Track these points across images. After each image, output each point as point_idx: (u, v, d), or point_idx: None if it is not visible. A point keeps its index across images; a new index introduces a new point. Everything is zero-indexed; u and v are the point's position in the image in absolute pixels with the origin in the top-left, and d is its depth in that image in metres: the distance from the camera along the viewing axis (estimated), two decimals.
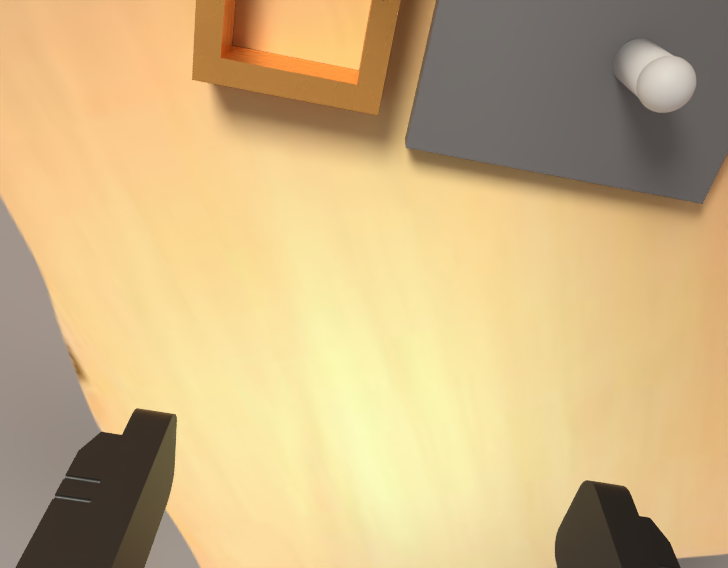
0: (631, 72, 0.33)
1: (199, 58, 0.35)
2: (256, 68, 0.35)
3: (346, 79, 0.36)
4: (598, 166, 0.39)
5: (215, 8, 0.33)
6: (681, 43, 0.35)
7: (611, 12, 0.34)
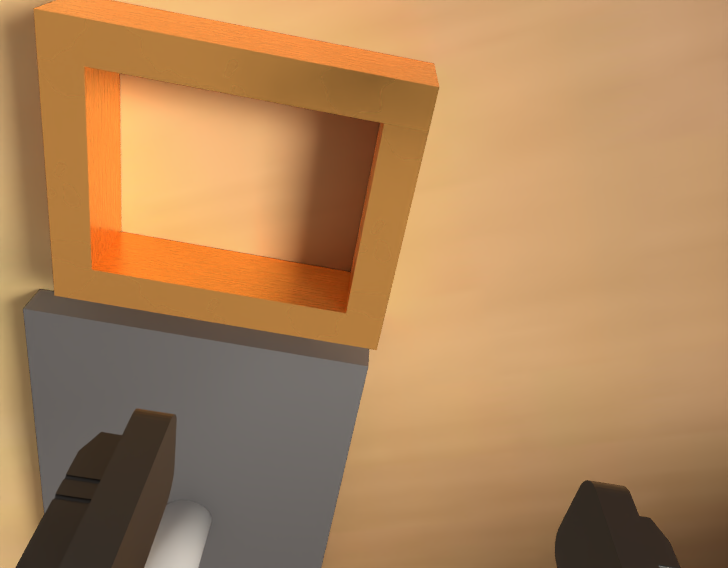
0: (169, 553, 0.30)
1: (74, 27, 0.20)
2: (80, 125, 0.21)
3: (97, 246, 0.24)
4: None
5: (163, 67, 0.20)
6: (211, 546, 0.34)
7: (233, 493, 0.32)
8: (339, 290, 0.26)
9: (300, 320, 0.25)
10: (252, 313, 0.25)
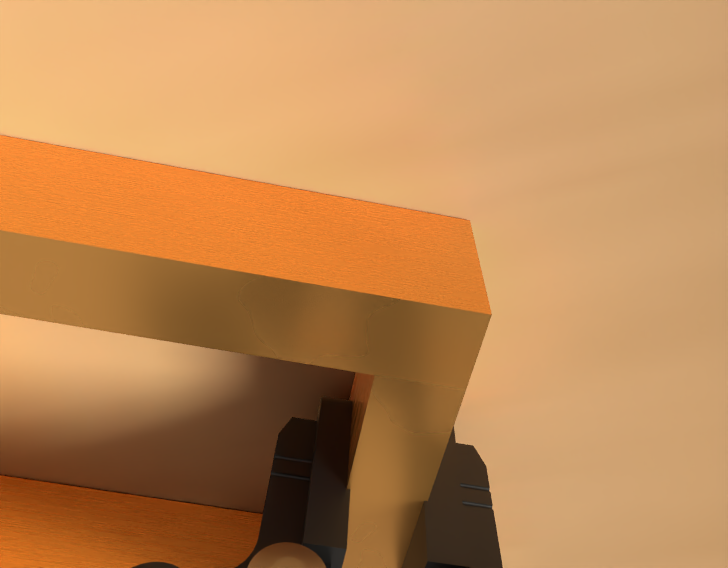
0: None
1: None
2: None
3: None
4: None
5: None
6: None
7: None
8: None
9: None
10: None
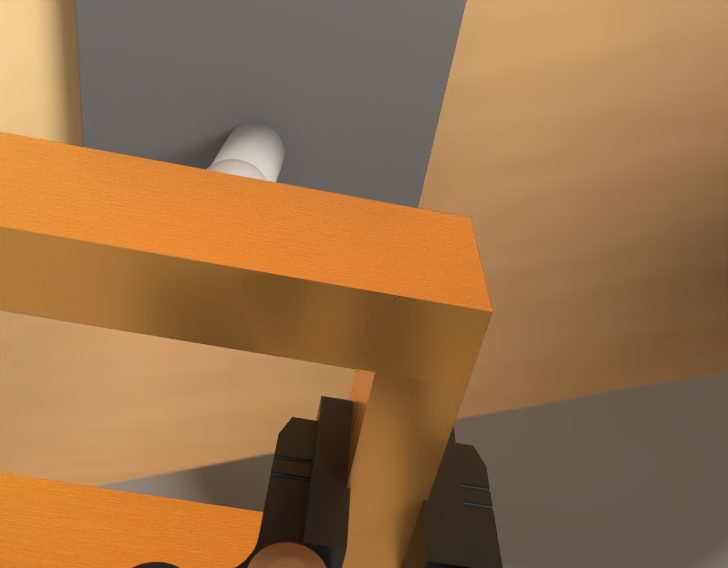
0: (243, 148, 0.24)
1: None
2: None
3: None
4: (107, 129, 0.27)
5: None
6: None
7: (313, 108, 0.26)
8: None
9: None
10: None
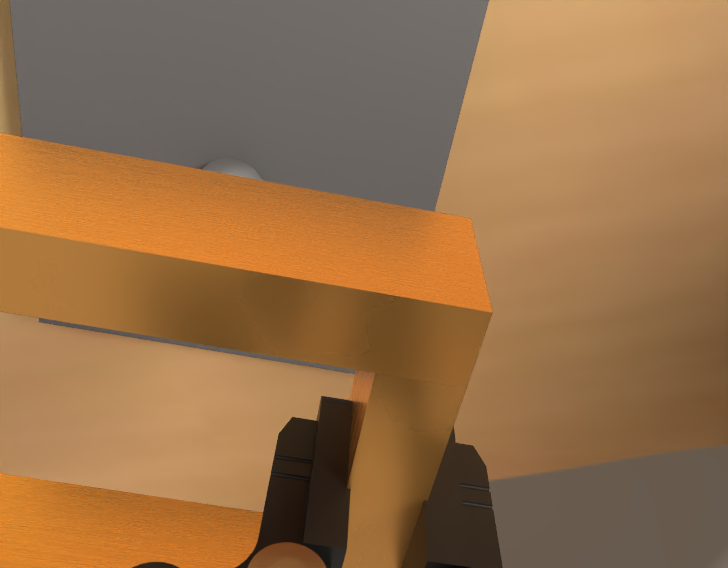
0: None
1: None
2: None
3: None
4: None
5: None
6: None
7: (299, 142, 0.22)
8: None
9: None
10: None
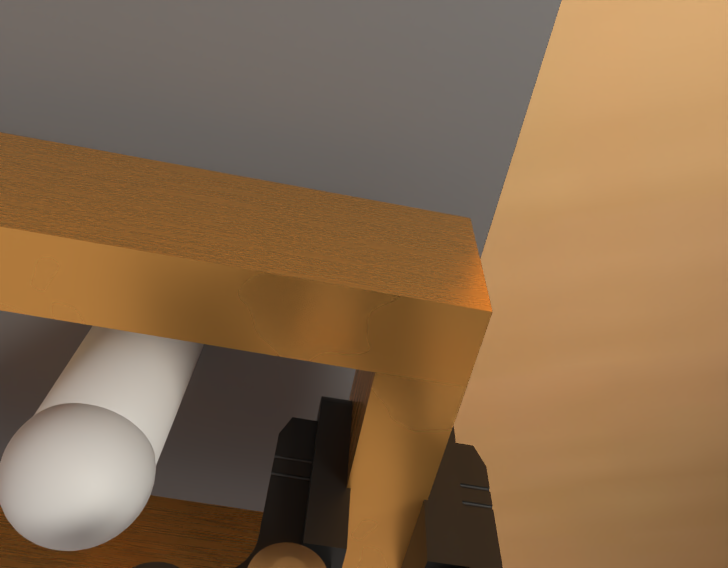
0: (107, 366, 0.13)
1: None
2: None
3: None
4: None
5: None
6: (206, 397, 0.17)
7: None
8: None
9: None
10: None
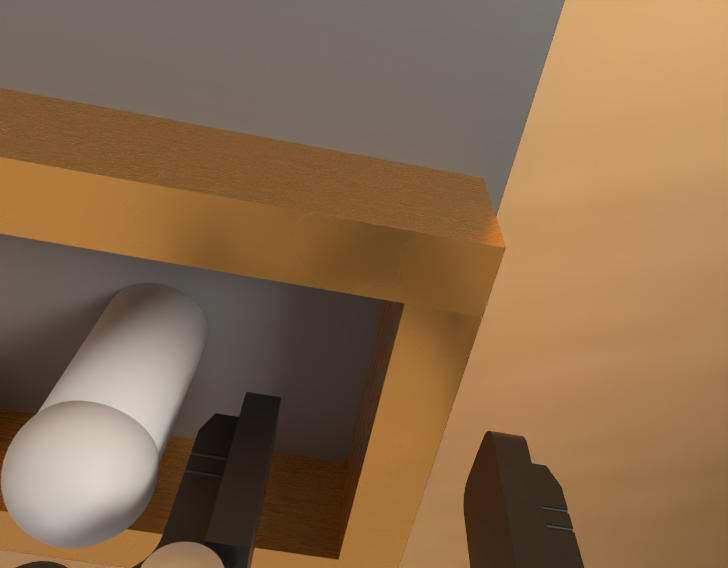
0: (111, 364, 0.13)
1: None
2: None
3: None
4: None
5: (4, 212, 0.11)
6: (209, 395, 0.17)
7: None
8: (328, 506, 0.17)
9: (266, 567, 0.16)
10: None
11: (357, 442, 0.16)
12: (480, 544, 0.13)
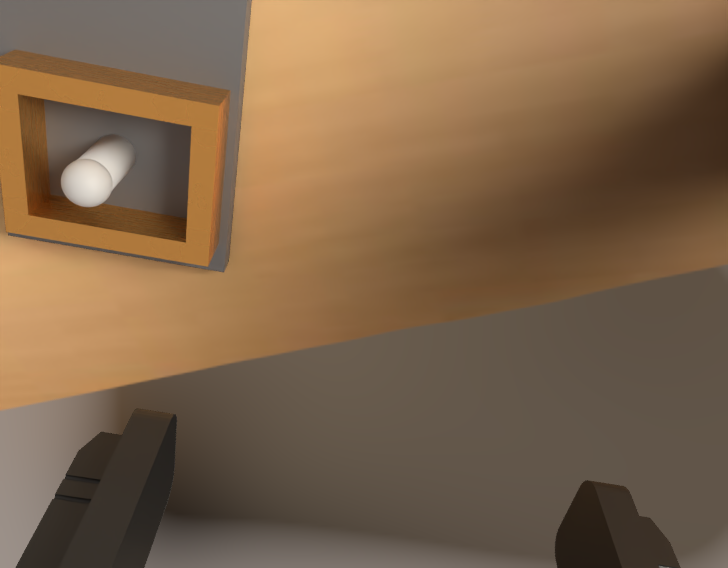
0: (96, 152, 0.37)
1: (11, 72, 0.35)
2: (16, 127, 0.36)
3: (32, 201, 0.39)
4: None
5: (62, 94, 0.35)
6: (138, 186, 0.41)
7: (151, 125, 0.39)
8: (186, 230, 0.41)
9: (158, 247, 0.40)
10: (128, 243, 0.40)
11: None
12: None
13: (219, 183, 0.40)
